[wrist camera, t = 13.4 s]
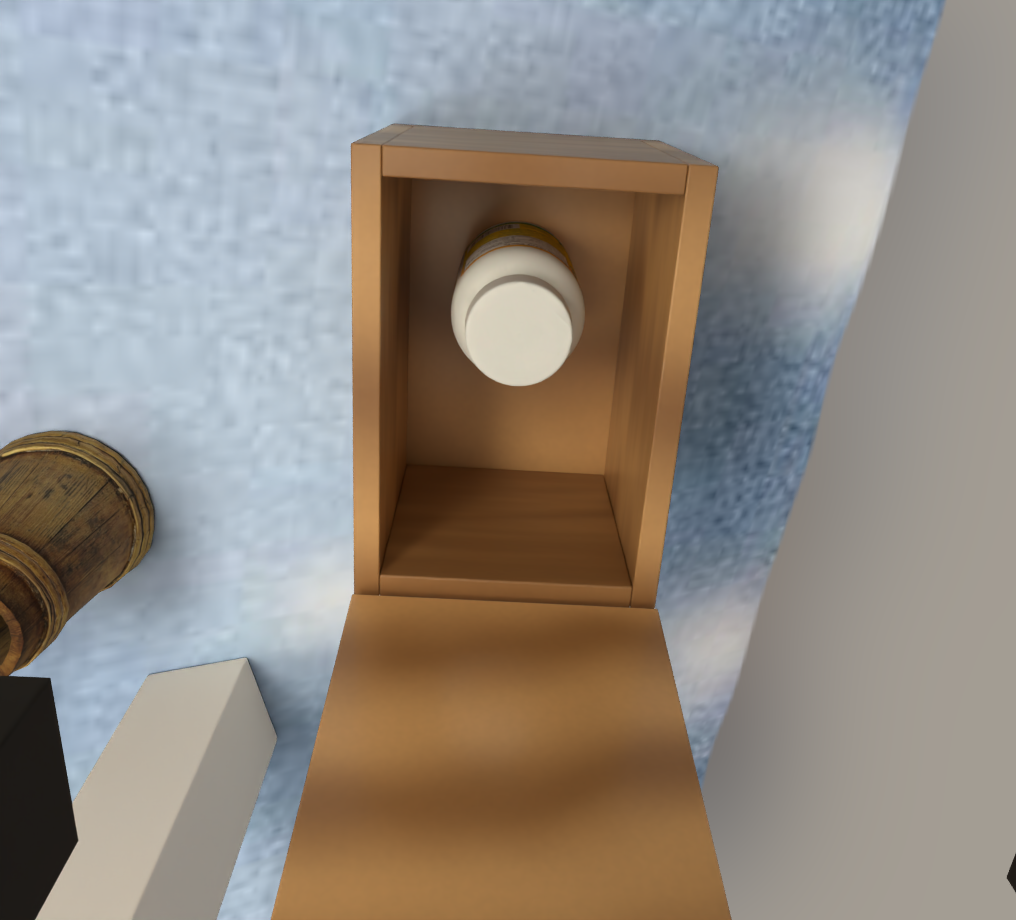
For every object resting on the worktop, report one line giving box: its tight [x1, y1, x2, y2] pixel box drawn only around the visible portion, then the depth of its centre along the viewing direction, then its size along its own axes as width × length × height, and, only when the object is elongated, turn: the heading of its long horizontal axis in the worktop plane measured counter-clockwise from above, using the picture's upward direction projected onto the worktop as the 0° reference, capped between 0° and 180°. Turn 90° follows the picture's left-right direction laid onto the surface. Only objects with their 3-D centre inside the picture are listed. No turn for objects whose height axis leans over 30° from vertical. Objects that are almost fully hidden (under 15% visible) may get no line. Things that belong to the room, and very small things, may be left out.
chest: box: [351, 124, 719, 609], centre depth 38 cm, size 17×12×12 cm
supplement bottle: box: [451, 221, 585, 386], centre depth 38 cm, size 5×5×10 cm
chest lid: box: [271, 594, 732, 920], centre depth 29 cm, size 18×12×5 cm
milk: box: [35, 658, 277, 920], centre depth 43 cm, size 6×6×22 cm
